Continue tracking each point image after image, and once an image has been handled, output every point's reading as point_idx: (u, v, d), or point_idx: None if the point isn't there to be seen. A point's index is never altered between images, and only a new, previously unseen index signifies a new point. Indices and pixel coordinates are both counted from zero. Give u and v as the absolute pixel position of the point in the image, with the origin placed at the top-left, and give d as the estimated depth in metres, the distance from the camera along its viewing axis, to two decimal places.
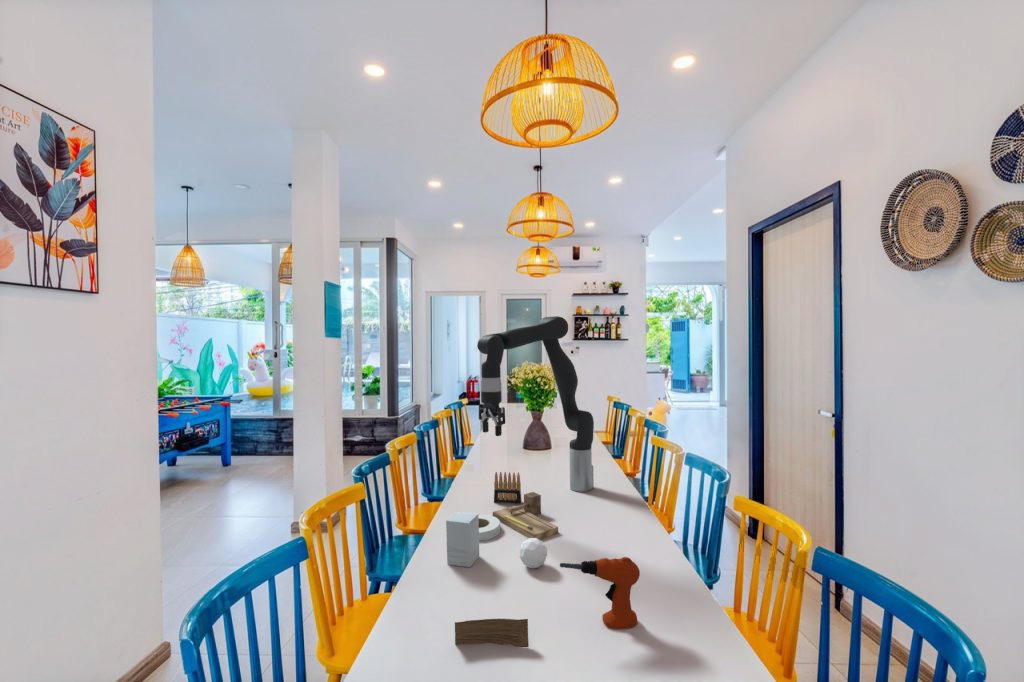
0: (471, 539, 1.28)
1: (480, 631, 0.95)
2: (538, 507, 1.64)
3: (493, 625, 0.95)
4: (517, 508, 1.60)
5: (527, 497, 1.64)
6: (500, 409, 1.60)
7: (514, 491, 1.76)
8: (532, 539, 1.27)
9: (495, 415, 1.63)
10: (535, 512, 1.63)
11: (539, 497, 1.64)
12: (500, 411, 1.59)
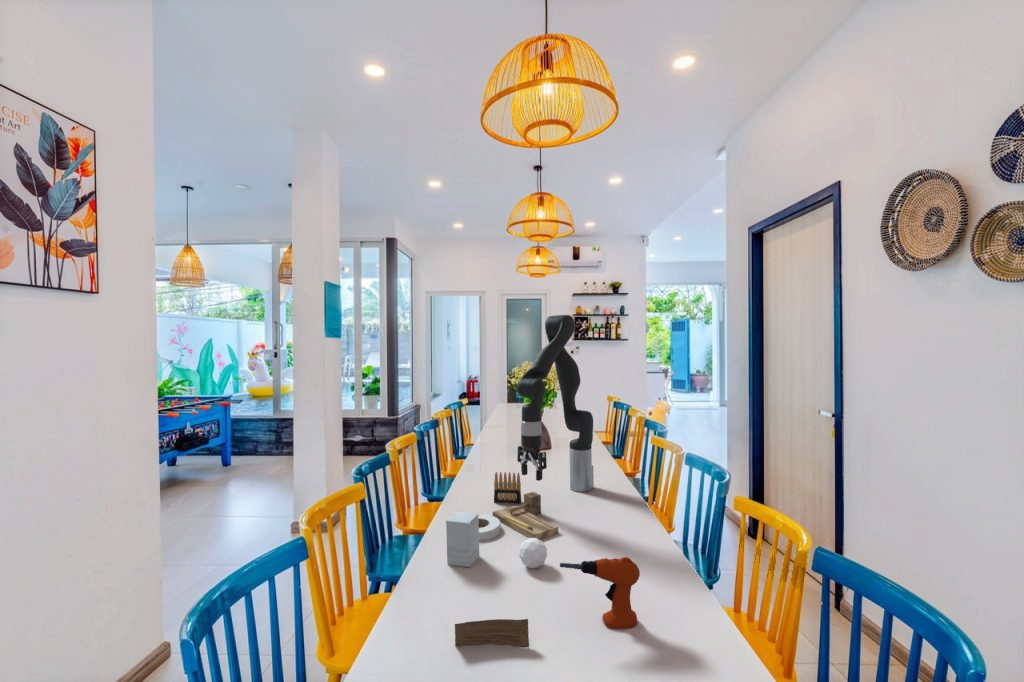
0: (471, 539, 1.28)
1: (481, 632, 0.95)
2: (538, 507, 1.64)
3: (493, 626, 0.95)
4: (517, 508, 1.60)
5: (527, 497, 1.64)
6: (542, 454, 1.59)
7: (514, 491, 1.76)
8: (532, 539, 1.27)
9: (536, 459, 1.63)
10: (535, 512, 1.63)
11: (539, 497, 1.64)
12: (542, 456, 1.59)
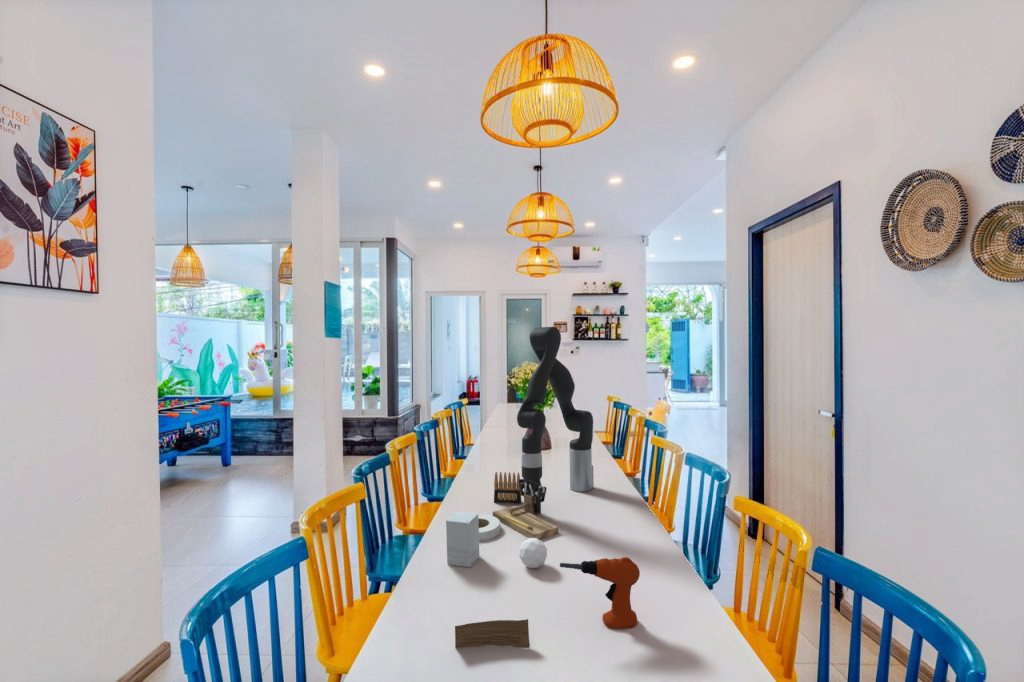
0: (471, 539, 1.28)
1: (481, 634, 0.94)
2: None
3: (494, 627, 0.95)
4: (517, 508, 1.60)
5: (527, 497, 1.64)
6: (542, 490, 1.59)
7: (514, 491, 1.76)
8: (532, 539, 1.27)
9: None
10: None
11: None
12: (542, 491, 1.59)
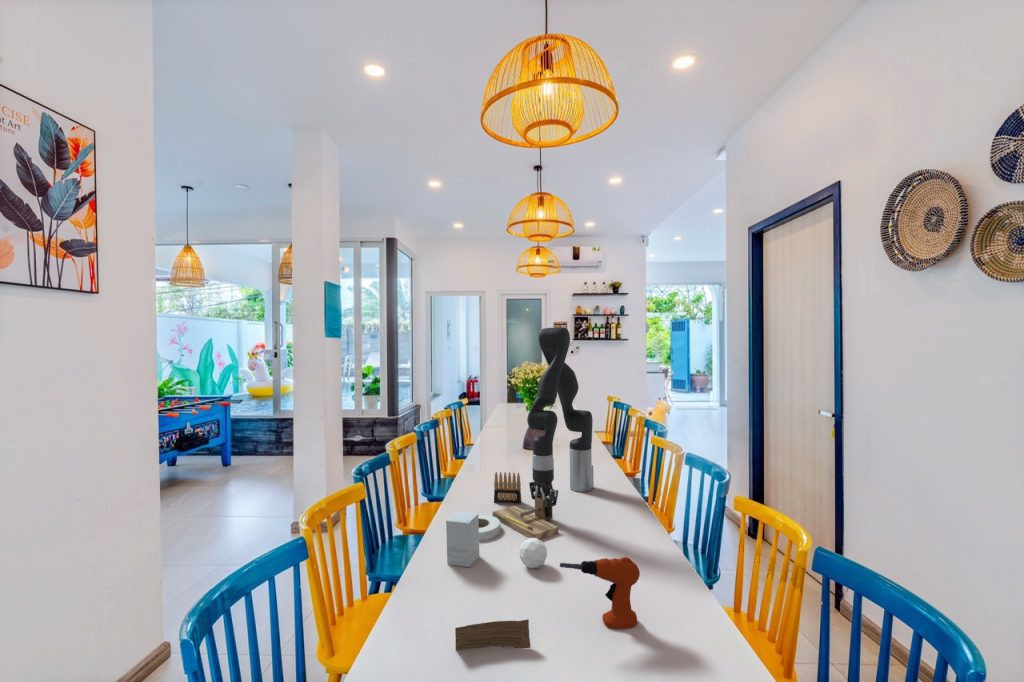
0: (471, 539, 1.28)
1: (481, 635, 0.94)
2: None
3: (494, 628, 0.95)
4: (528, 512, 1.55)
5: (538, 501, 1.58)
6: (554, 493, 1.54)
7: (514, 491, 1.76)
8: (532, 539, 1.27)
9: None
10: None
11: None
12: (553, 495, 1.54)
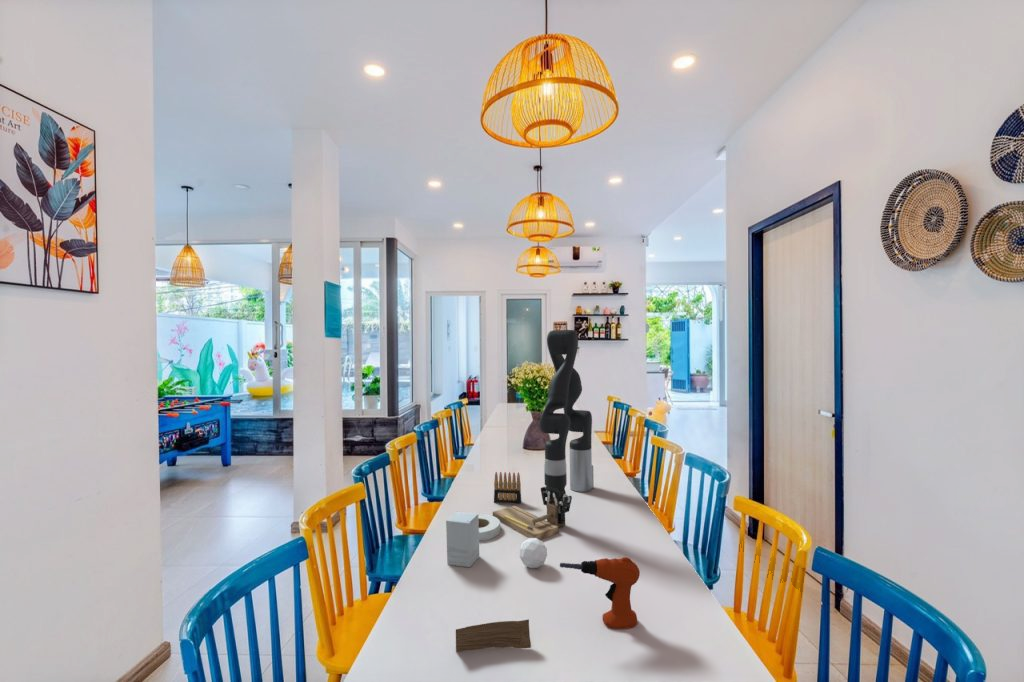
0: (471, 539, 1.28)
1: (482, 636, 0.94)
2: None
3: (494, 629, 0.94)
4: (540, 519, 1.50)
5: (551, 507, 1.53)
6: (567, 499, 1.49)
7: (514, 491, 1.76)
8: (532, 539, 1.27)
9: None
10: None
11: None
12: (567, 501, 1.49)
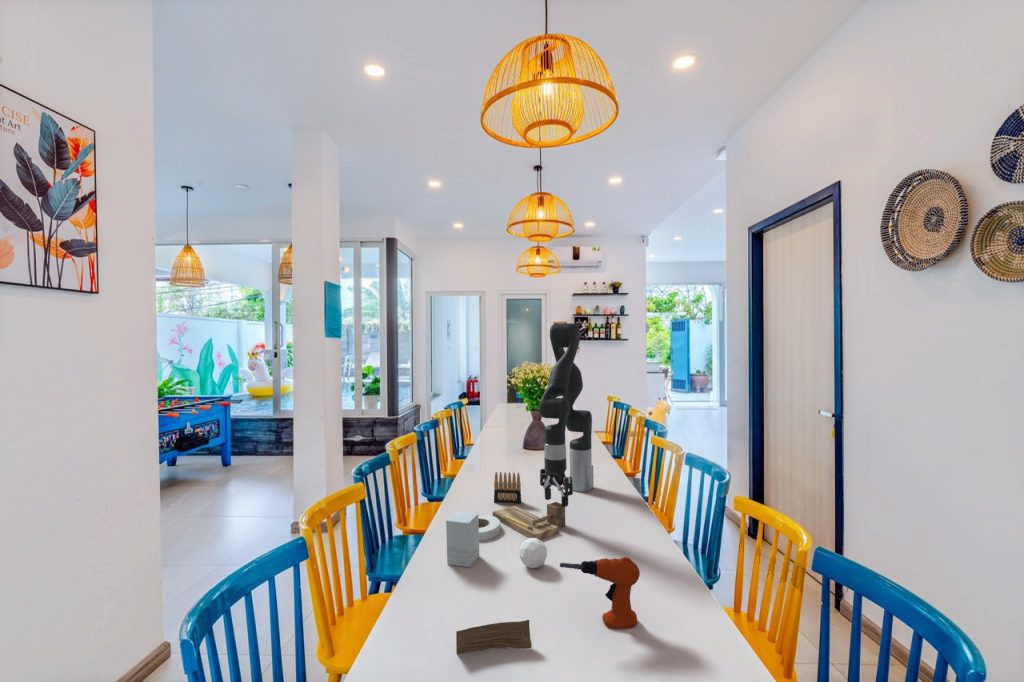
0: (471, 539, 1.28)
1: (482, 638, 0.93)
2: (563, 518, 1.54)
3: (495, 630, 0.94)
4: (540, 520, 1.50)
5: (551, 508, 1.53)
6: (567, 479, 1.49)
7: (514, 491, 1.76)
8: (532, 539, 1.27)
9: (560, 484, 1.53)
10: (559, 523, 1.53)
11: (564, 508, 1.54)
12: (567, 482, 1.49)
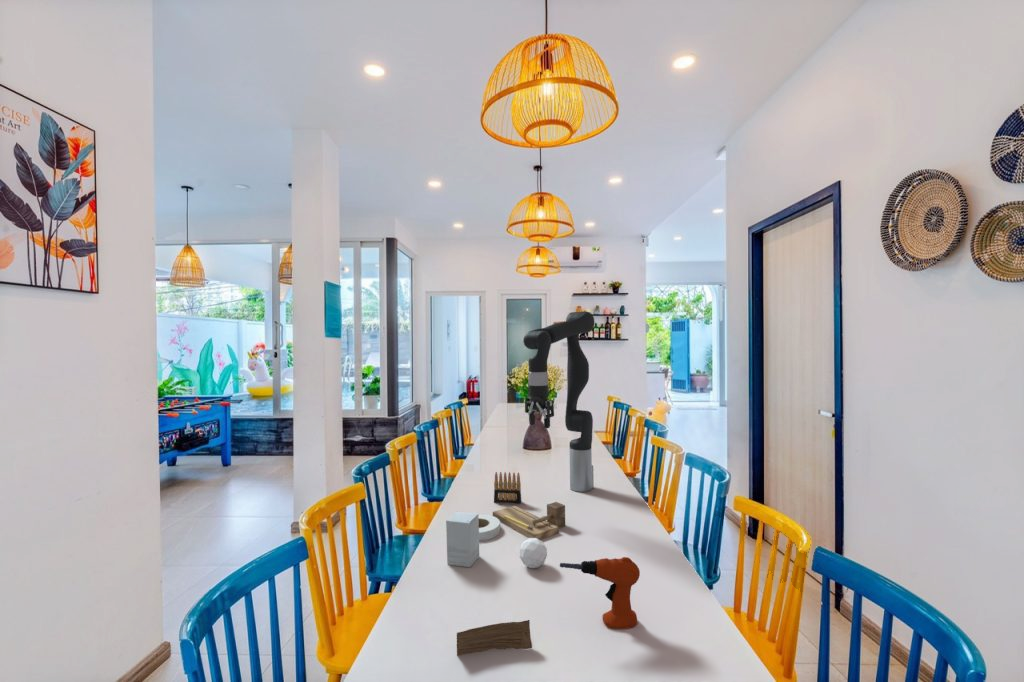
0: (471, 539, 1.28)
1: (483, 639, 0.93)
2: (563, 518, 1.54)
3: (495, 631, 0.94)
4: (540, 520, 1.50)
5: (551, 508, 1.53)
6: (549, 402, 1.65)
7: (514, 491, 1.76)
8: (532, 539, 1.27)
9: (543, 408, 1.69)
10: (559, 523, 1.53)
11: (564, 508, 1.54)
12: (549, 404, 1.65)
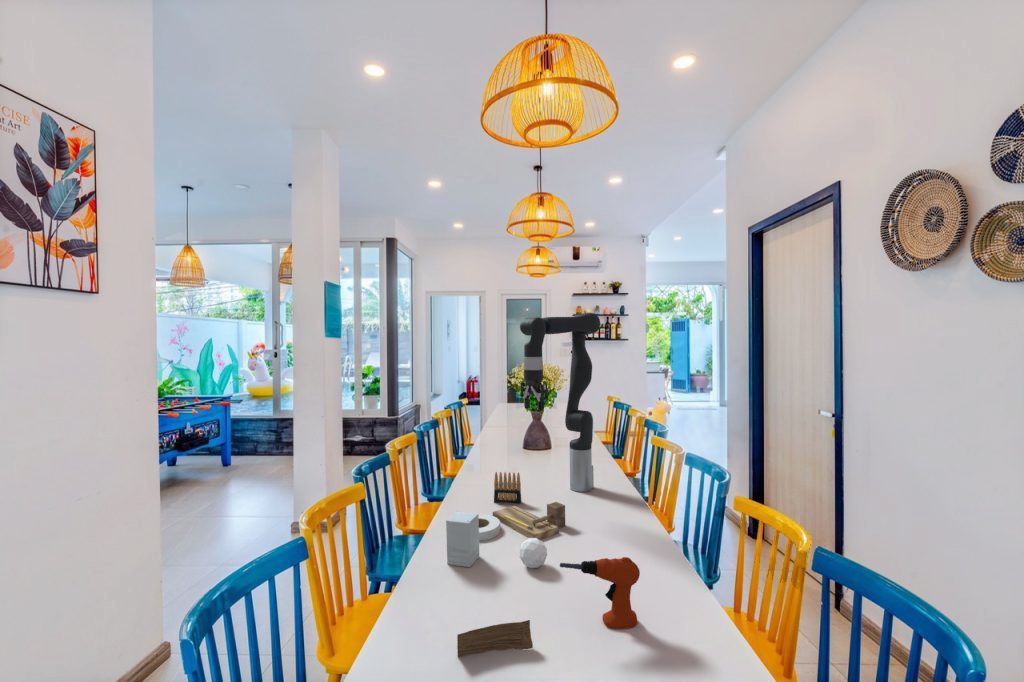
0: (471, 539, 1.28)
1: (483, 640, 0.93)
2: (563, 518, 1.54)
3: (496, 631, 0.93)
4: (540, 520, 1.50)
5: (551, 508, 1.53)
6: (543, 386, 1.71)
7: (514, 491, 1.76)
8: (532, 539, 1.27)
9: (537, 392, 1.75)
10: (559, 523, 1.53)
11: (564, 508, 1.54)
12: (543, 387, 1.71)
